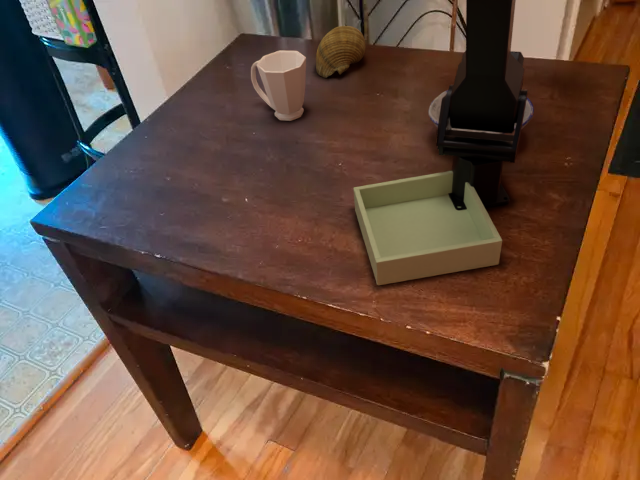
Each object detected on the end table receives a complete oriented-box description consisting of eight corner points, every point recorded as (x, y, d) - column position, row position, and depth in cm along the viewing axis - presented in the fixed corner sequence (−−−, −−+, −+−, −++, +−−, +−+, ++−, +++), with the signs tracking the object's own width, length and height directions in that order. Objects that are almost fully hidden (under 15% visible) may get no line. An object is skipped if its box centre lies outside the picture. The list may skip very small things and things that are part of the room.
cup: (292, 130, 86) (283, 77, 80) (242, 113, 91) (231, 61, 85) (322, 108, 90) (316, 55, 84) (272, 92, 94) (263, 41, 88)
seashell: (340, 100, 99) (368, 68, 92) (304, 78, 96) (330, 42, 90) (348, 62, 103) (375, 29, 97) (313, 40, 101) (339, 4, 95)
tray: (498, 264, 64) (502, 240, 61) (377, 285, 64) (376, 262, 61) (461, 191, 73) (463, 168, 70) (355, 210, 73) (353, 187, 70)
